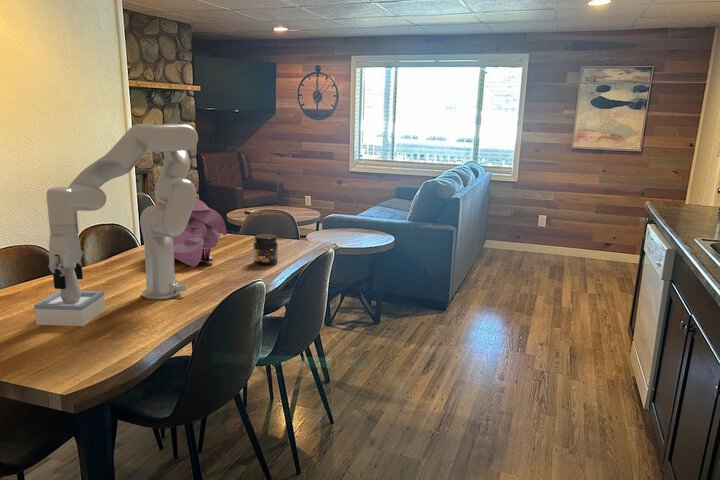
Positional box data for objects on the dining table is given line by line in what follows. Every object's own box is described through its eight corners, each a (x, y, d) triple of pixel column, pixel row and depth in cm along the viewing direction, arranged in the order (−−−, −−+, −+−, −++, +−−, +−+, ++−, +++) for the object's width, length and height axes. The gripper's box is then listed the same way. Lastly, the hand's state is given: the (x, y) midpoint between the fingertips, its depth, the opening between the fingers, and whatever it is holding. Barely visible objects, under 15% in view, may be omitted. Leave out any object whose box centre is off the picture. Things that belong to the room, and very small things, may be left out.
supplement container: (248, 264, 231) (248, 237, 228) (260, 258, 241) (260, 232, 238) (270, 267, 228) (270, 239, 225) (282, 261, 238) (282, 235, 235)
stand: (105, 309, 173) (103, 291, 171) (83, 326, 159) (81, 306, 158) (61, 308, 173) (60, 290, 171) (36, 324, 159) (34, 305, 157)
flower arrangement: (232, 268, 241) (242, 207, 240) (209, 272, 218) (220, 204, 217) (162, 254, 247) (172, 194, 246) (132, 256, 224) (142, 190, 223)
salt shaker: (67, 298, 168) (63, 258, 165) (85, 298, 168) (82, 258, 165) (57, 304, 162) (53, 263, 159) (76, 304, 162) (72, 263, 159)
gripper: (67, 223, 168) (71, 275, 172) (34, 234, 151) (40, 292, 155) (91, 223, 168) (95, 276, 172) (60, 235, 151) (66, 293, 155)
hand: (69, 283), depth 163 cm, fingers open, 9 cm apart
